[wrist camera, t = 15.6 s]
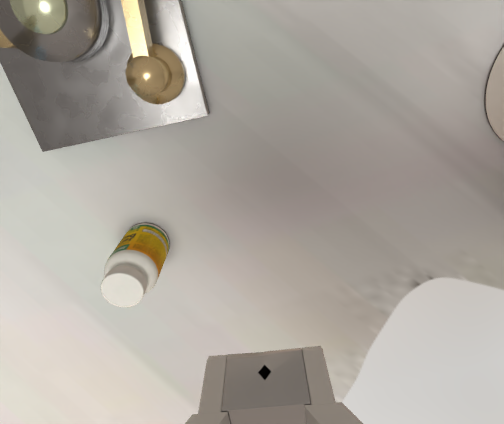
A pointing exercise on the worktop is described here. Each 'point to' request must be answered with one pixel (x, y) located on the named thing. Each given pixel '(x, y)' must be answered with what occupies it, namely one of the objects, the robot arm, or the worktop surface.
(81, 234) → the worktop surface
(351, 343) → the worktop surface
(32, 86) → the levelling base
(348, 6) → the worktop surface
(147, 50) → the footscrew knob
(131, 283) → the supplement bottle
